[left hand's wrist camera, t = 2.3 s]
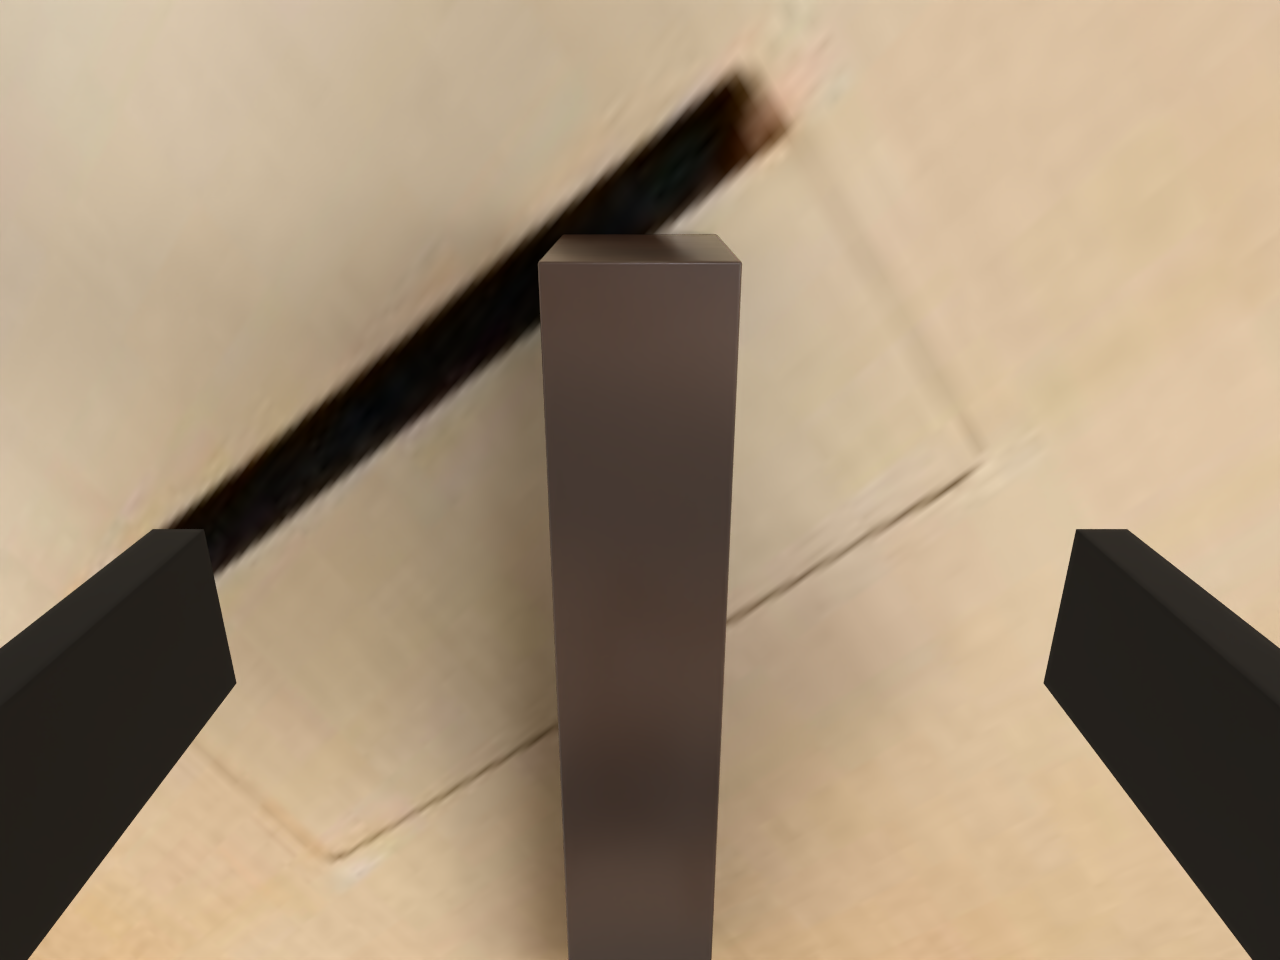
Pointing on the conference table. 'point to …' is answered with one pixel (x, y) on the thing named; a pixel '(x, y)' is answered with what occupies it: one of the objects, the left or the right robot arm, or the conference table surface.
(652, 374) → the plank
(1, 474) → the conference table surface
